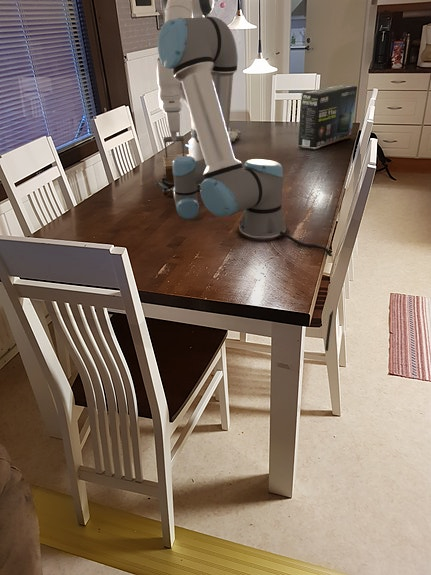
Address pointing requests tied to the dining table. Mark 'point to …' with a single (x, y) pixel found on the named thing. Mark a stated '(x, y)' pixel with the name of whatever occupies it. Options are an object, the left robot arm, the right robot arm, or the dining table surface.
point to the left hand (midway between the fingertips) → (173, 139)
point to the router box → (326, 115)
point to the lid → (170, 158)
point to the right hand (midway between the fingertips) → (178, 176)
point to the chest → (169, 176)
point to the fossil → (233, 134)
